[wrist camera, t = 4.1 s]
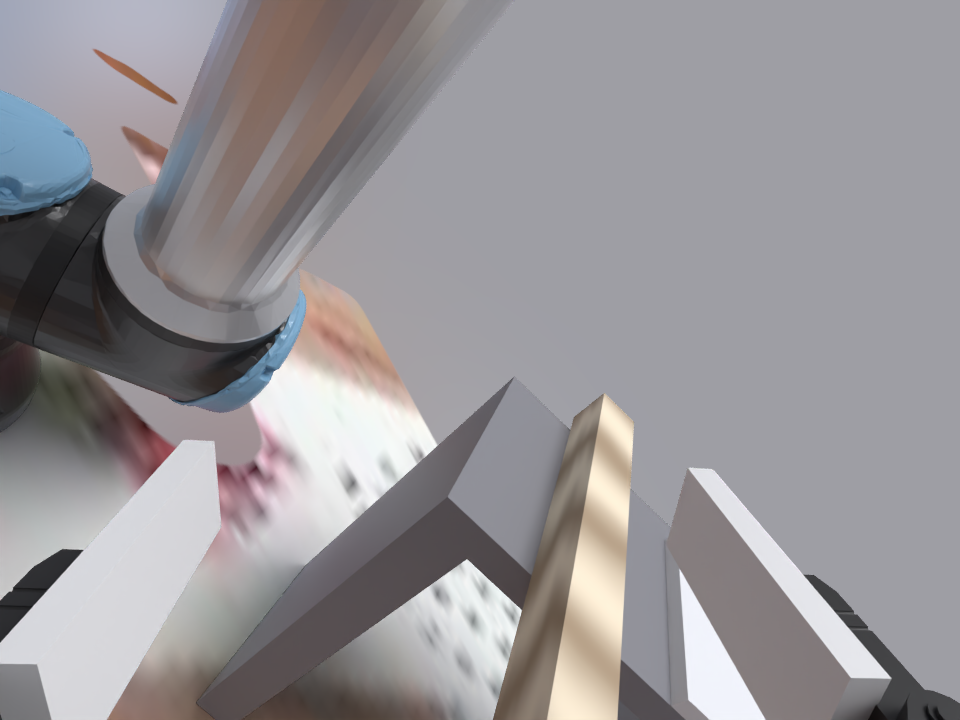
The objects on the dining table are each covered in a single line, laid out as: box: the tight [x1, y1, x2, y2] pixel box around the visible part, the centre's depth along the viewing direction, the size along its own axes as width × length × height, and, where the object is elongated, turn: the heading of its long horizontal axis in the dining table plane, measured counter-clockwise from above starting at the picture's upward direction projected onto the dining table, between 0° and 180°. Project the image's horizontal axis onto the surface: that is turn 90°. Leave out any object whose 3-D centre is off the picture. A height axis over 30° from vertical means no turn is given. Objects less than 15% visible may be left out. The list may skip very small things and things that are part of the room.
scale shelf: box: [196, 377, 765, 720], centre depth 39 cm, size 14×29×31 cm, turn 70°
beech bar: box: [493, 393, 634, 720], centre depth 26 cm, size 28×3×3 cm, turn 160°
